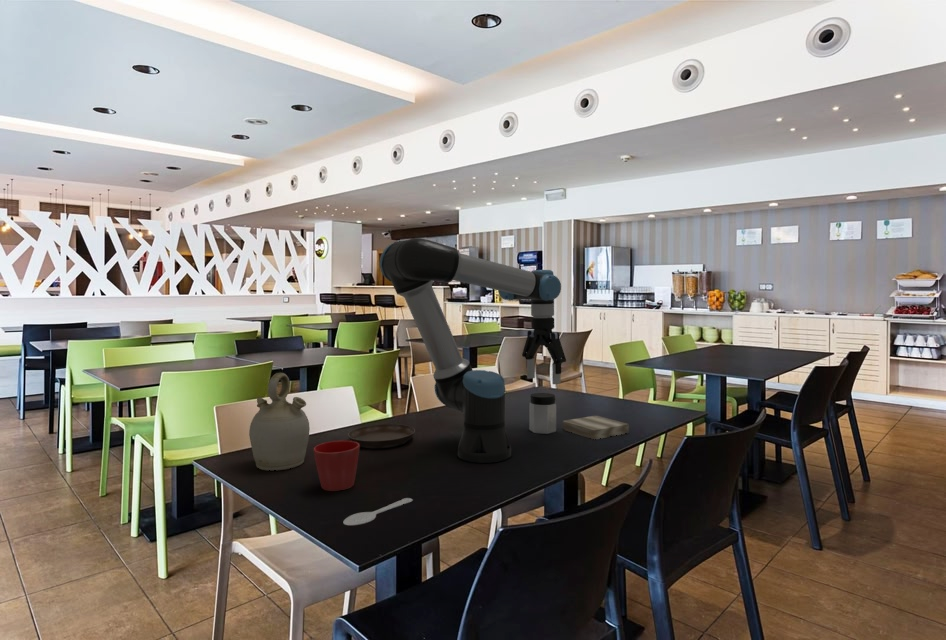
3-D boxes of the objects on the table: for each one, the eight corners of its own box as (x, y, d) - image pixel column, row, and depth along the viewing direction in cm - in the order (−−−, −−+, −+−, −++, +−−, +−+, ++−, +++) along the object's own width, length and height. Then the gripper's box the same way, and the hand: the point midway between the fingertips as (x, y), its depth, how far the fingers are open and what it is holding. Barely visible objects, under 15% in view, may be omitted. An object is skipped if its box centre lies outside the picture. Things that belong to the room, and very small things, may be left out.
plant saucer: (335, 448, 166) (335, 437, 166) (368, 431, 186) (367, 421, 186) (398, 453, 160) (398, 442, 160) (425, 435, 180) (425, 425, 180)
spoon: (419, 503, 123) (419, 500, 123) (352, 529, 109) (352, 527, 109) (403, 497, 126) (403, 495, 126) (336, 522, 113) (336, 520, 113)
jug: (322, 460, 154) (320, 370, 152) (276, 476, 140) (274, 378, 139) (284, 452, 161) (282, 367, 160) (237, 467, 148) (234, 374, 147)
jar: (543, 435, 178) (543, 398, 178) (524, 431, 184) (524, 395, 183) (560, 430, 184) (561, 394, 184) (541, 426, 190) (541, 391, 190)
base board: (594, 439, 173) (594, 430, 172) (562, 429, 185) (562, 420, 185) (628, 433, 180) (628, 424, 180) (596, 423, 193) (596, 415, 193)
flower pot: (305, 486, 133) (304, 446, 133) (345, 475, 141) (344, 437, 141) (328, 497, 126) (327, 455, 125) (369, 485, 134) (368, 445, 133)
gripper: (577, 317, 174) (577, 385, 175) (529, 315, 195) (529, 375, 196) (558, 318, 170) (558, 387, 171) (511, 316, 191) (512, 377, 192)
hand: (543, 381), depth 184 cm, fingers open, 13 cm apart
